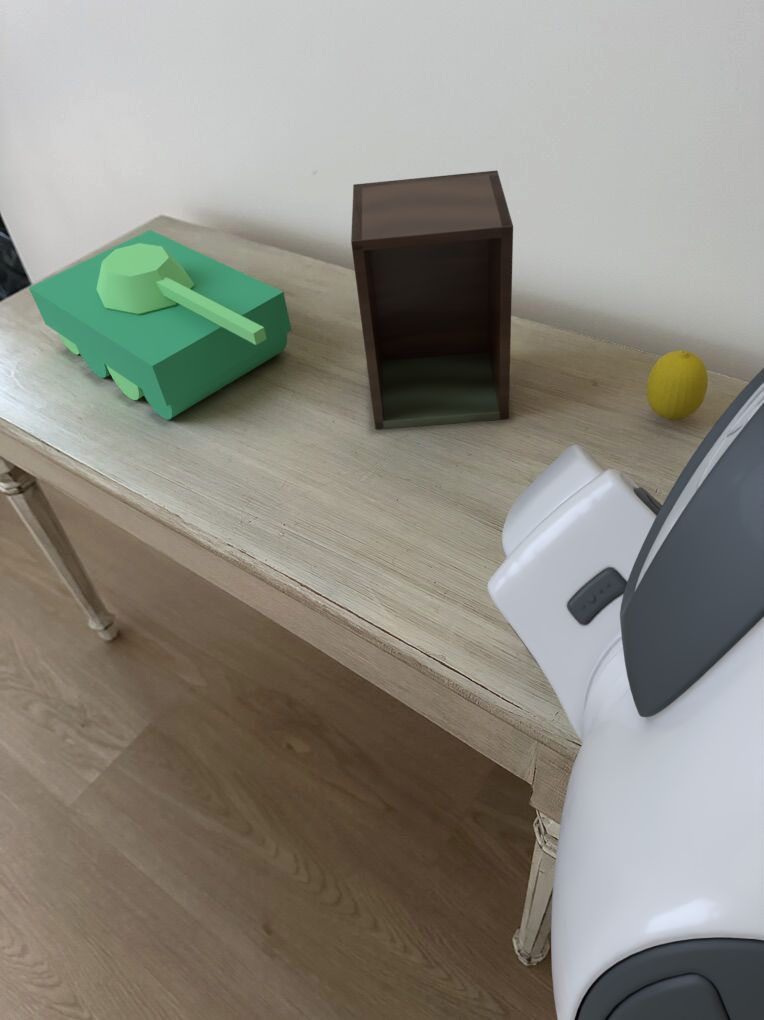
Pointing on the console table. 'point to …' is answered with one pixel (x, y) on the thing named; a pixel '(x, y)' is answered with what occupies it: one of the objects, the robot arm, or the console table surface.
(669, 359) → the lemon
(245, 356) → the toy tank
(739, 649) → the robot arm
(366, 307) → the cabinet
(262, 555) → the console table surface
